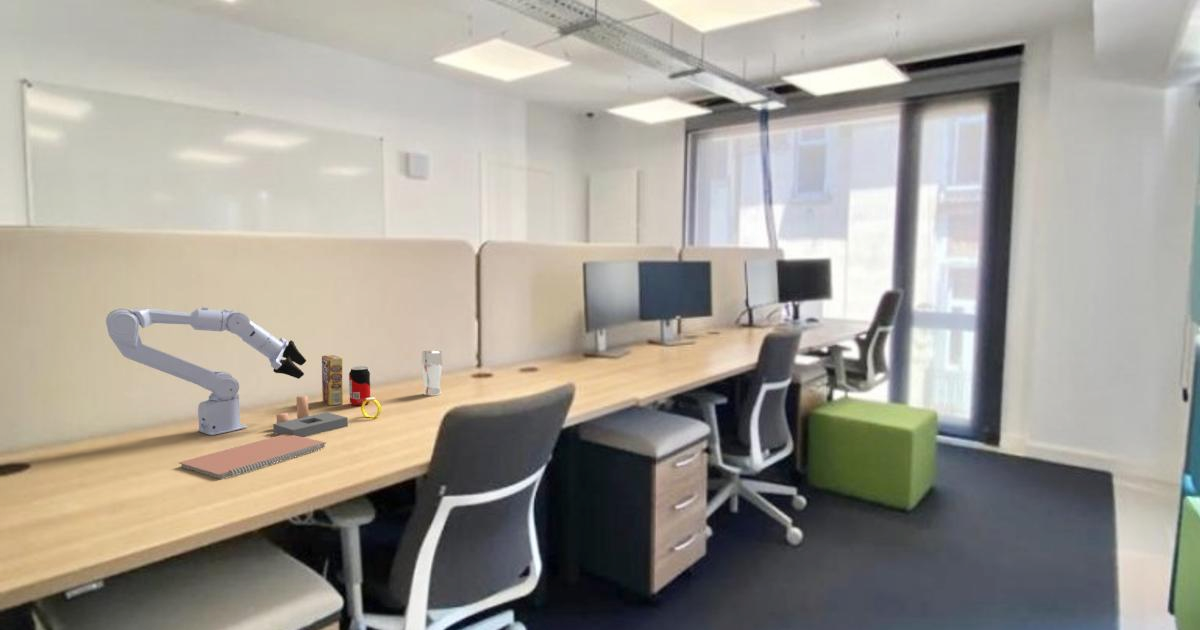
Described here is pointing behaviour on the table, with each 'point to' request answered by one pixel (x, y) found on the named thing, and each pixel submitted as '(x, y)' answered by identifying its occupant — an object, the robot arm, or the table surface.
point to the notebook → (252, 455)
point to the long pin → (302, 406)
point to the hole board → (311, 424)
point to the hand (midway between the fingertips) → (302, 369)
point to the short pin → (282, 417)
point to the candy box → (332, 380)
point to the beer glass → (432, 372)
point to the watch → (374, 402)
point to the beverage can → (359, 385)
